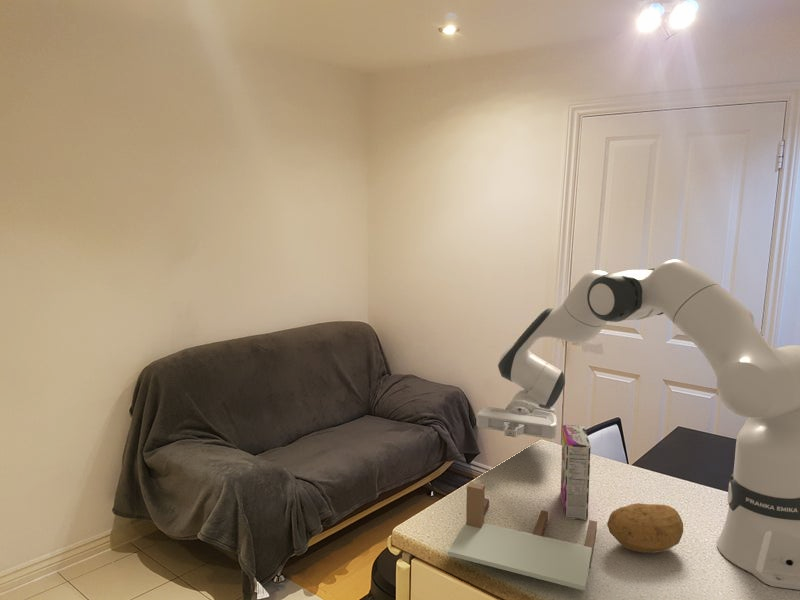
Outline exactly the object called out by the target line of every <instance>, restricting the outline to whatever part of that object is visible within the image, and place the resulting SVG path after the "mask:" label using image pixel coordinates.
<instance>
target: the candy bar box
mask: <svg viewBox="0 0 800 600" xmlns="http://www.w3.org/2000/svg"><path fill="white" fill-rule="evenodd" d="M561 432H562V433H561V437H562V438H561V461H560V462H561V463H560V465H561V468H560V496H561V502H562V508H563V512H564V513H563V514H564V518H565V517H566V519H570V518H575V519H574V520H582V519H583V521H584V519H585V521H589V495H590V472H591V468H590V467H591V444H590V440H589V437H588V433H587V431H586V428H585V426H583V425H572V424H571V425H569V424H562V431H561Z"/></svg>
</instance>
